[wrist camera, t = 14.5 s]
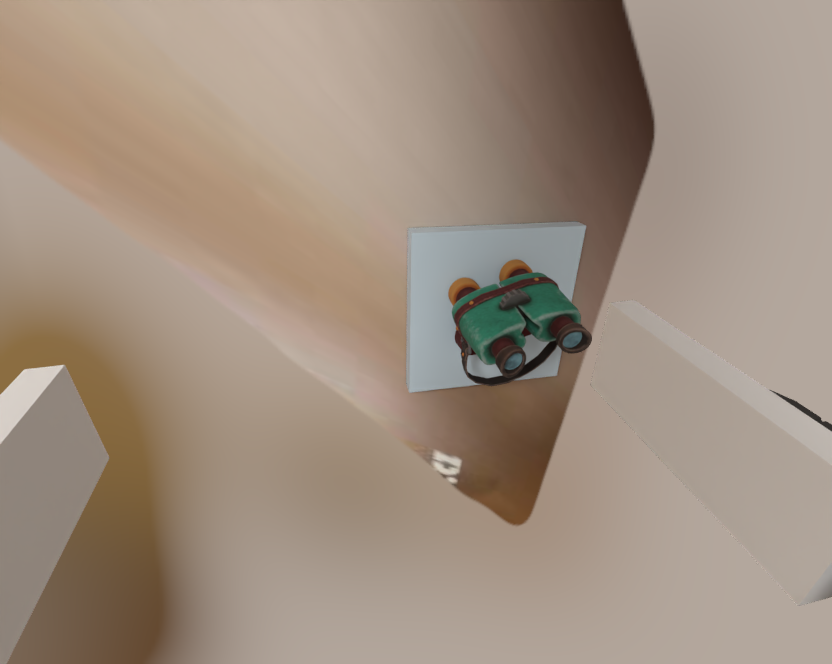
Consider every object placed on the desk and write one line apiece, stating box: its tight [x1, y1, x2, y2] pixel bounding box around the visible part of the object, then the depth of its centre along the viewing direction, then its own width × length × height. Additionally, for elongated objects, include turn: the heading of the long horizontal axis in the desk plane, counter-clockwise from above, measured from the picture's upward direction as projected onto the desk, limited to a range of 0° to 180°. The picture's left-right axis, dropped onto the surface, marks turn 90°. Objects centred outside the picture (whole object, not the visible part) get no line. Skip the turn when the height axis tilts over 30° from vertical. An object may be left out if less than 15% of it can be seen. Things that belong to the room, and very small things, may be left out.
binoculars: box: [448, 259, 592, 386], centre depth 35 cm, size 9×11×10 cm
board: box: [406, 221, 586, 393], centre depth 40 cm, size 15×15×2 cm
